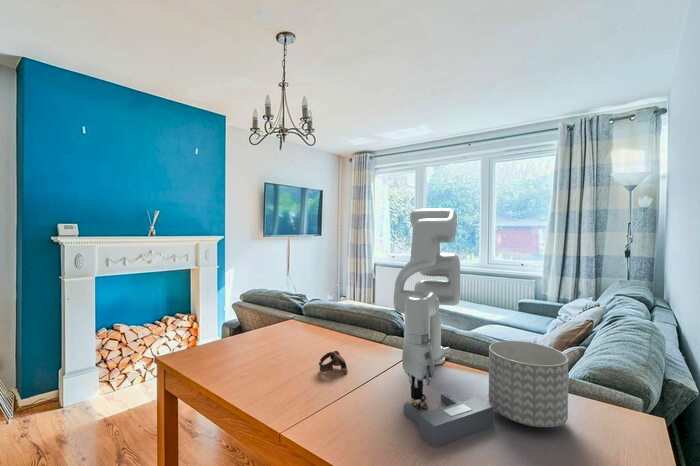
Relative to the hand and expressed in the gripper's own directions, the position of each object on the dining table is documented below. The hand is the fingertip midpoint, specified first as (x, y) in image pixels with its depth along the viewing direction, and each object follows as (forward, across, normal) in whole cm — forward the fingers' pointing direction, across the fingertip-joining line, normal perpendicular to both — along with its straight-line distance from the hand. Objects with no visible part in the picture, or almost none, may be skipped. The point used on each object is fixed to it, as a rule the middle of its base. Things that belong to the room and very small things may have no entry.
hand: (416, 398), depth 100 cm
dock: (+1, -12, 0) cm, 12 cm away
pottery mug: (+1, +30, +14) cm, 33 cm away
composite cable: (+1, -2, -1) cm, 2 cm away
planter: (+1, -21, -21) cm, 30 cm away
